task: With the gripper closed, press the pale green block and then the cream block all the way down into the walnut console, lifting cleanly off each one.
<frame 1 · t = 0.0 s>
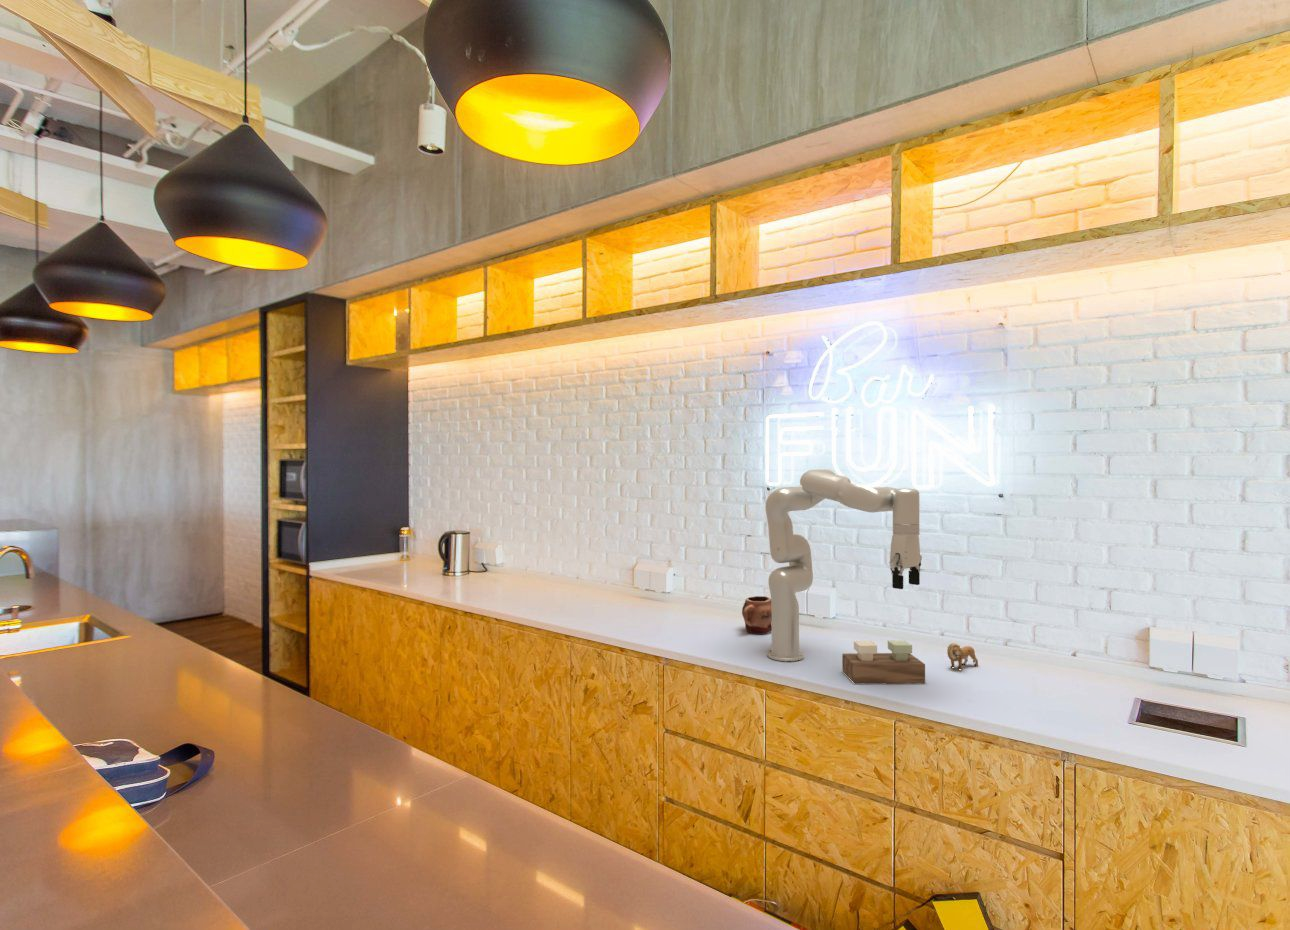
hand: (906, 586, 200), 31 cm above the countertop, tool pointing down, fingers open, 9 cm apart
console: (882, 677, 211), on the countertop
pale green block: (899, 653, 211), point 8 cm above the countertop, slide at 0.0 cm
cream block: (865, 654, 211), point 7 cm above the countertop, slide at 0.0 cm
decorative planter: (757, 633, 267), on the countertop
lion figurine: (962, 668, 221), on the countertop
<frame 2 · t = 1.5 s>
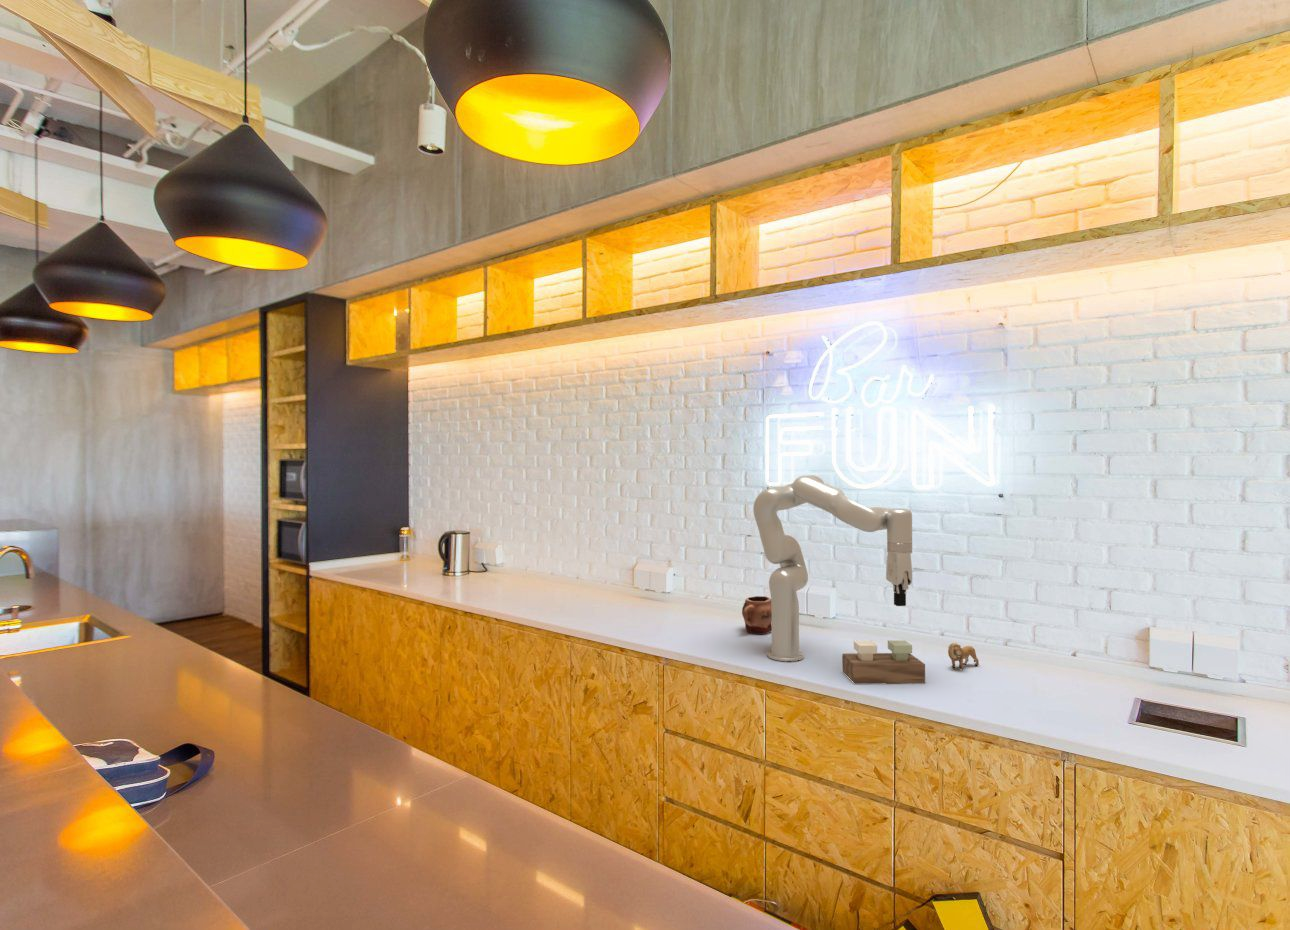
hand: (899, 605, 211), 23 cm above the countertop, tool pointing down, fingers closed
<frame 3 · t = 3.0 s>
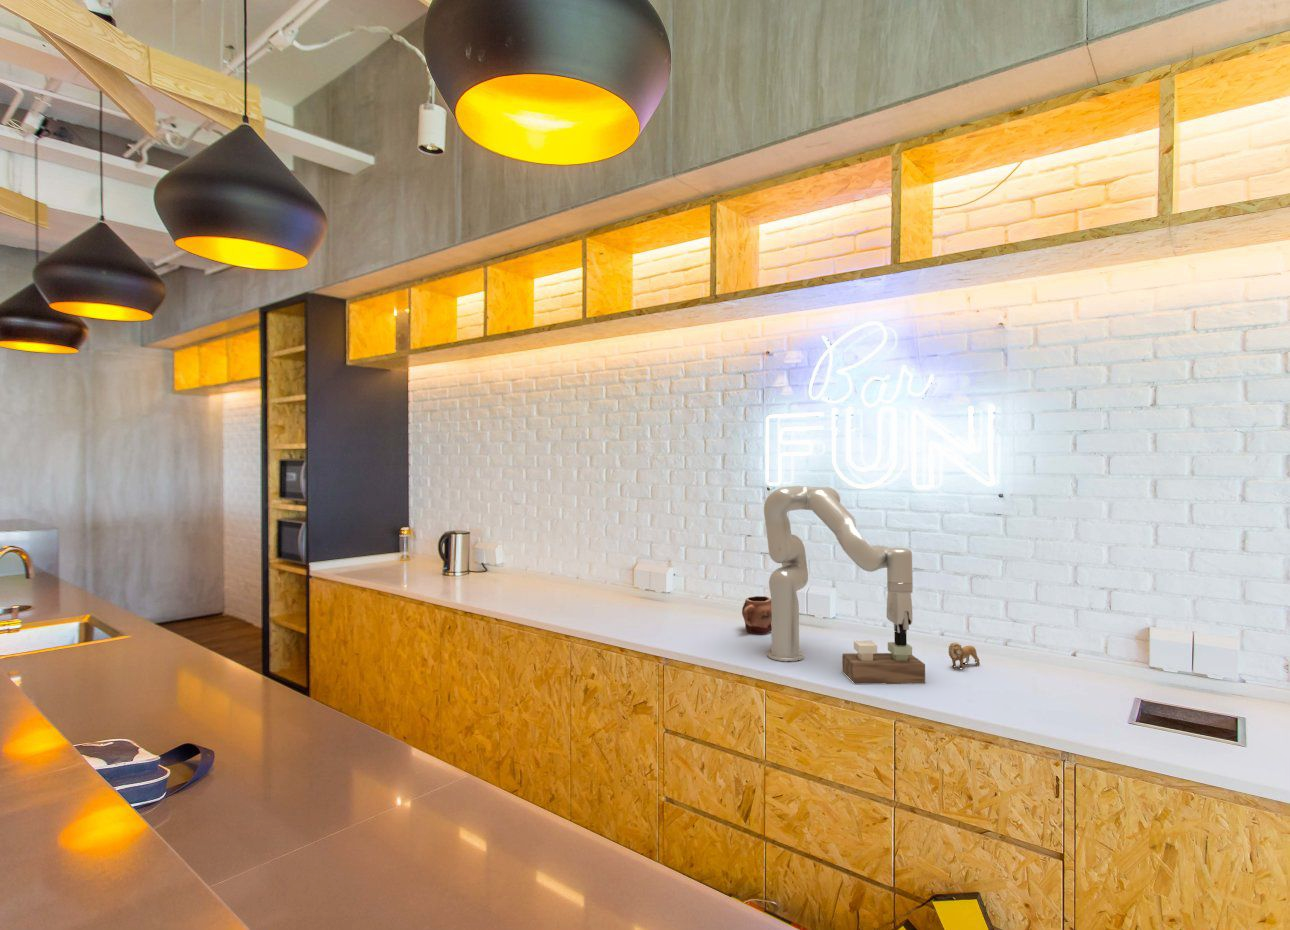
hand: (900, 644, 211), 10 cm above the countertop, tool pointing down, fingers closed
pale green block: (899, 655, 211), point 7 cm above the countertop, slide at 0.6 cm, touching gripper
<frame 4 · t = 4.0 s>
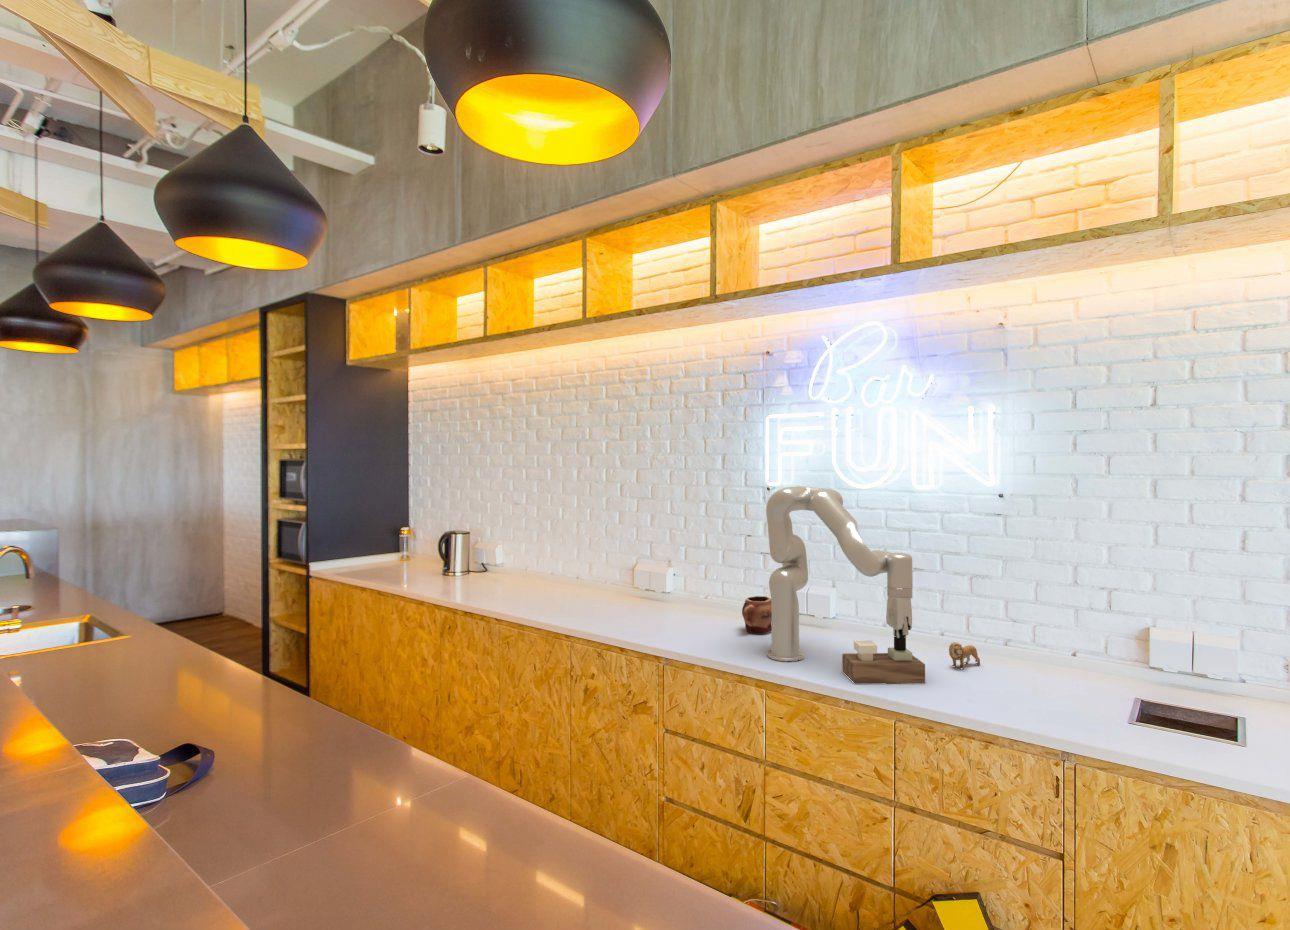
hand: (899, 649, 211), 9 cm above the countertop, tool pointing down, fingers closed
pale green block: (899, 660, 211), point 5 cm above the countertop, slide at 2.3 cm
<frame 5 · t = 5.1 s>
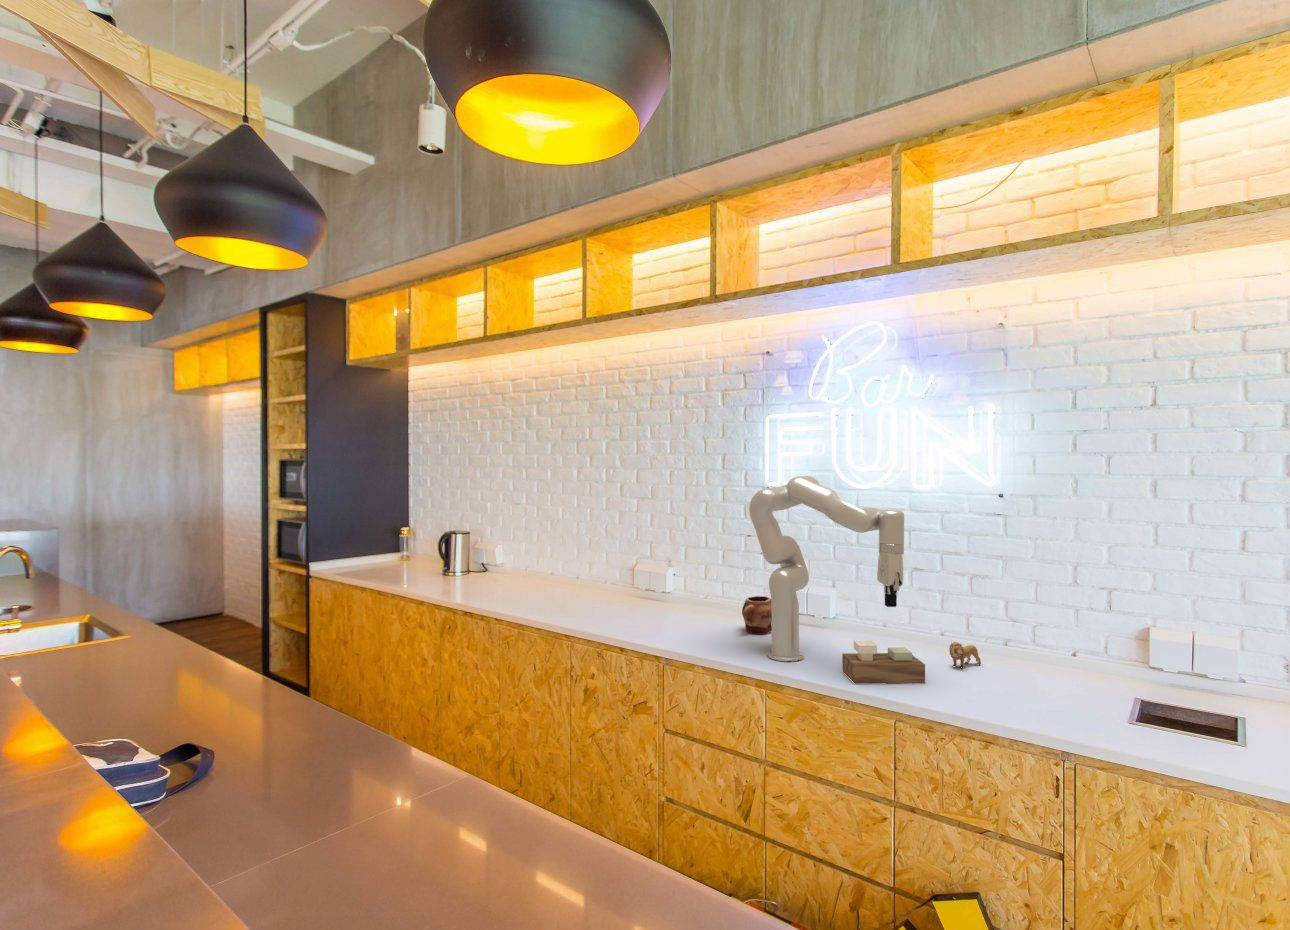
hand: (890, 606, 211), 23 cm above the countertop, tool pointing down, fingers closed
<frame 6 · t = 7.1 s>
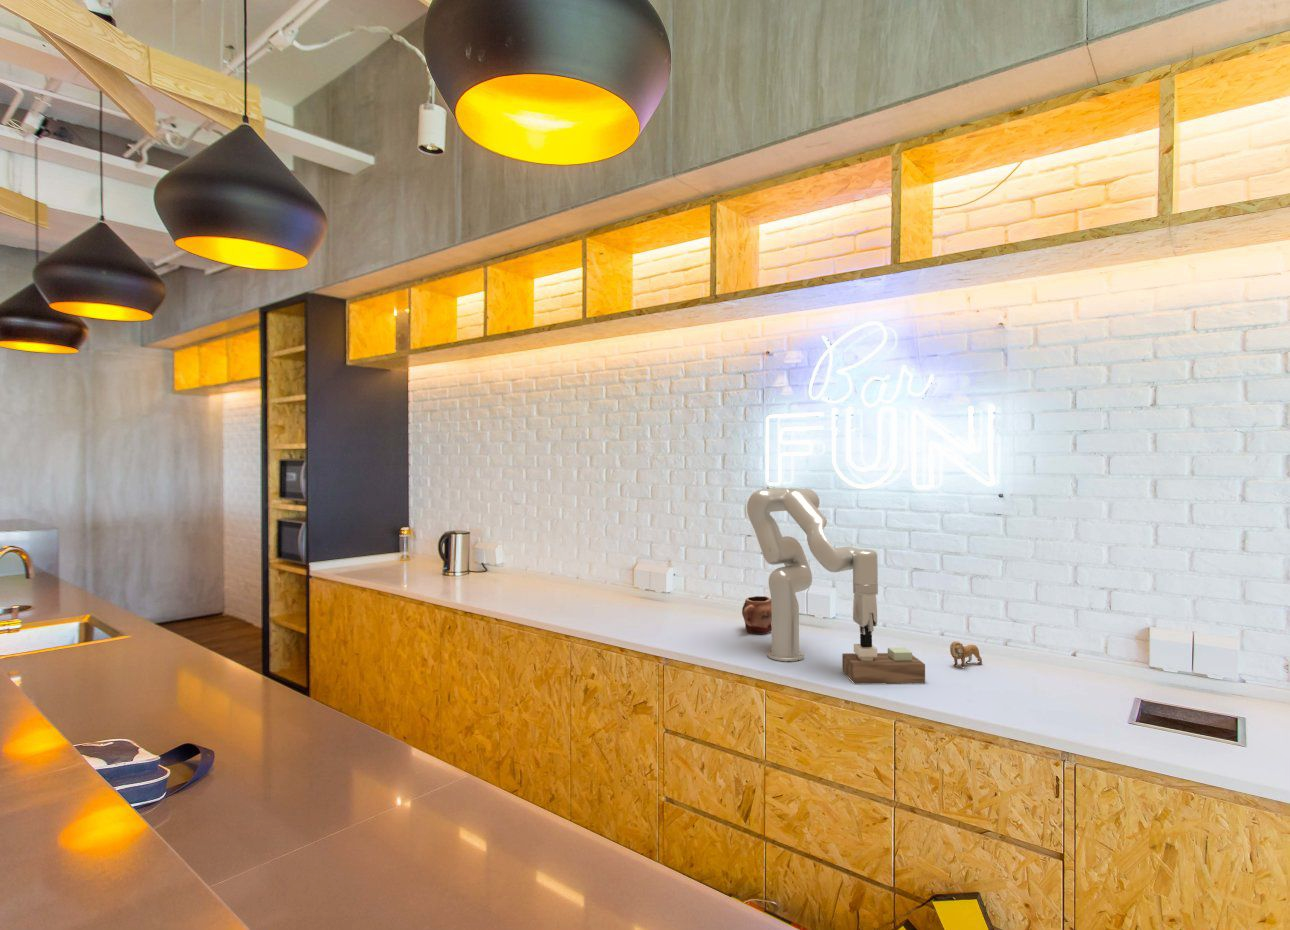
hand: (866, 646, 211), 10 cm above the countertop, tool pointing down, fingers closed
cream block: (865, 657, 211), point 6 cm above the countertop, slide at 1.0 cm, touching gripper
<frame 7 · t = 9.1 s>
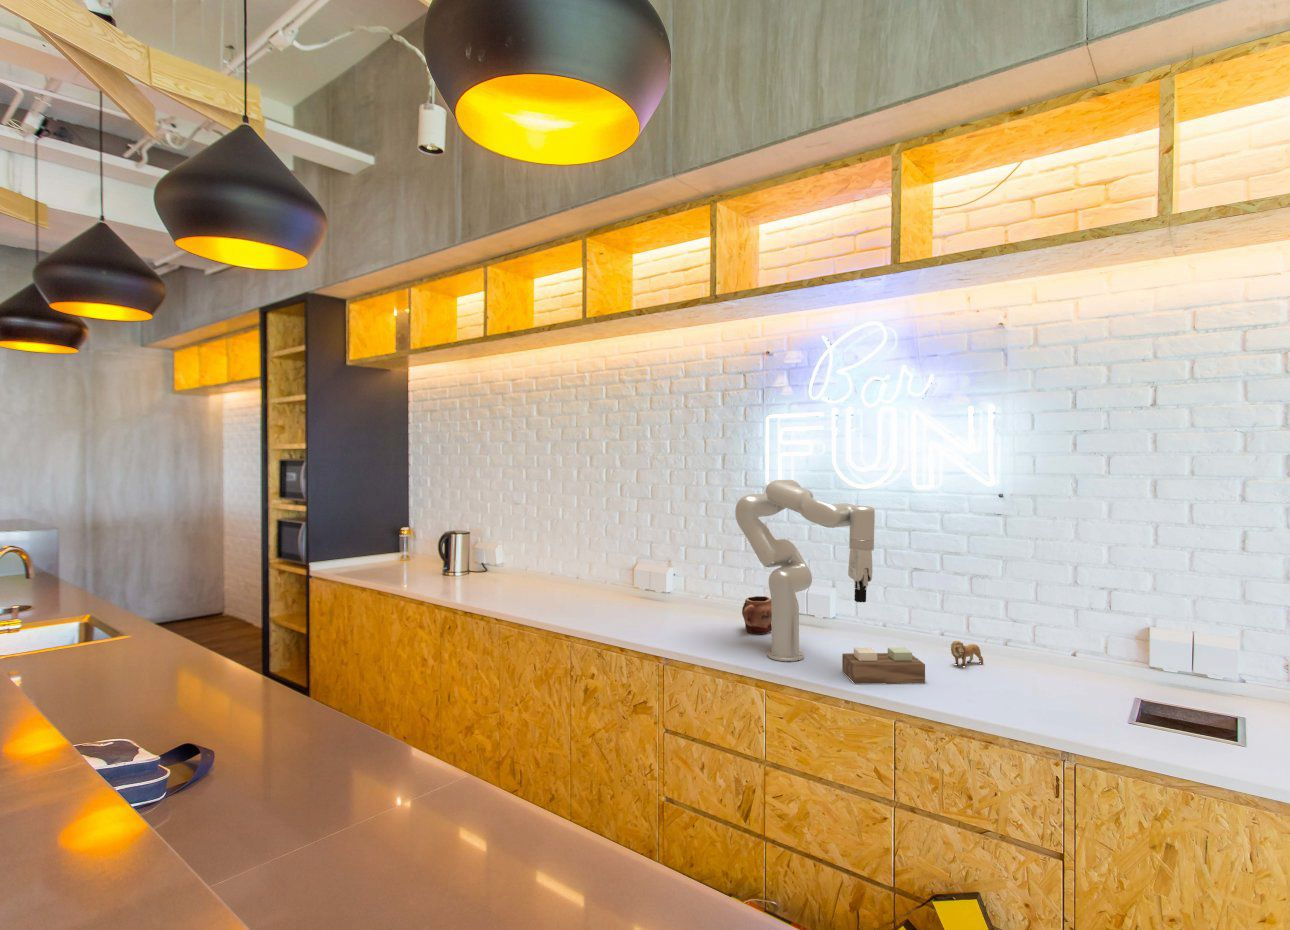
hand: (860, 601, 213), 24 cm above the countertop, tool pointing down, fingers closed
cream block: (865, 661, 211), point 5 cm above the countertop, slide at 2.3 cm
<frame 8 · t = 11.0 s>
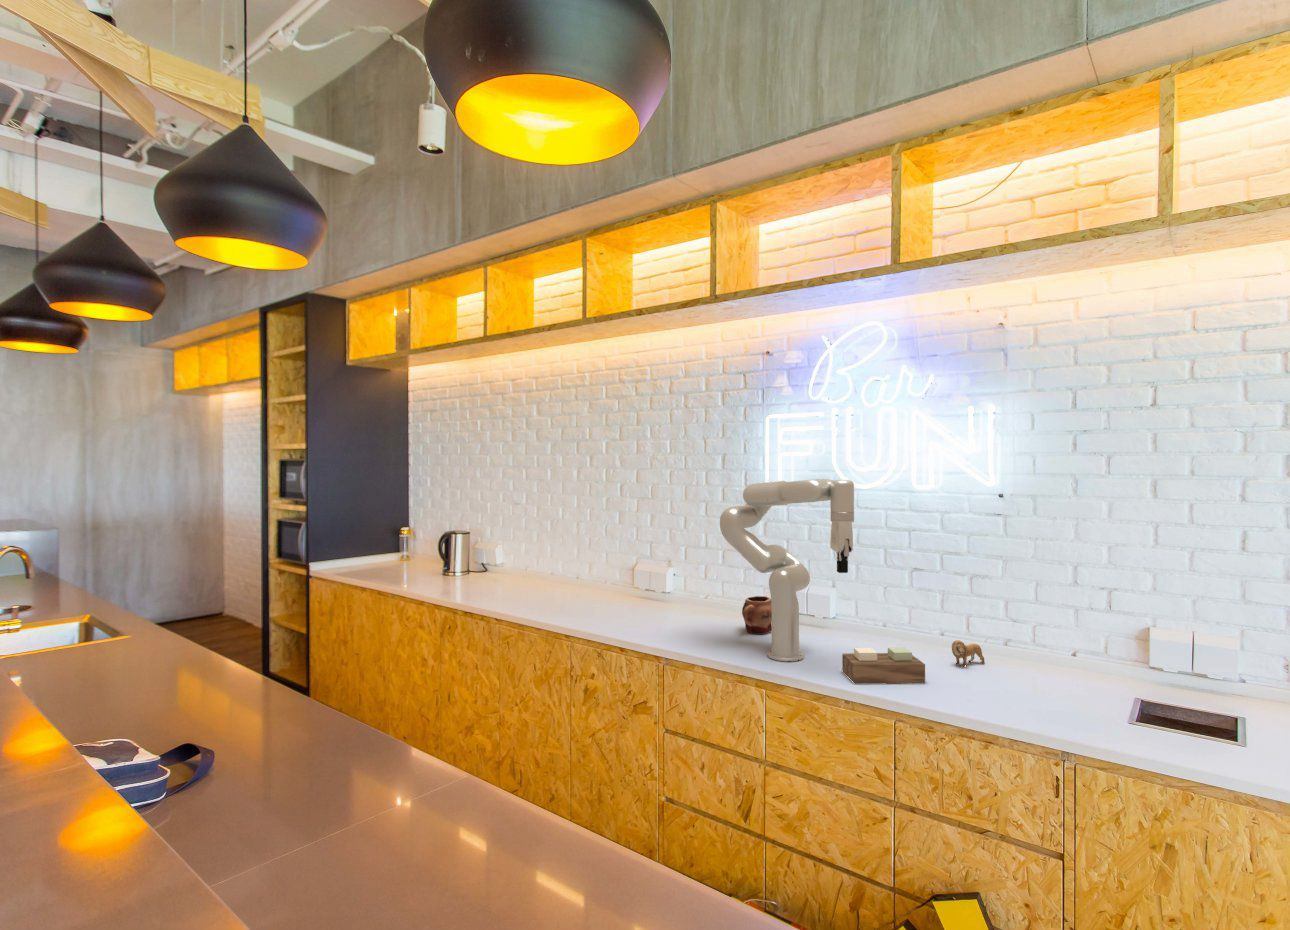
hand: (842, 572, 220), 32 cm above the countertop, tool pointing down, fingers closed
at the end: pale green block slide at 2.3 cm; cream block slide at 2.3 cm; the gripper is holding nothing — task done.
